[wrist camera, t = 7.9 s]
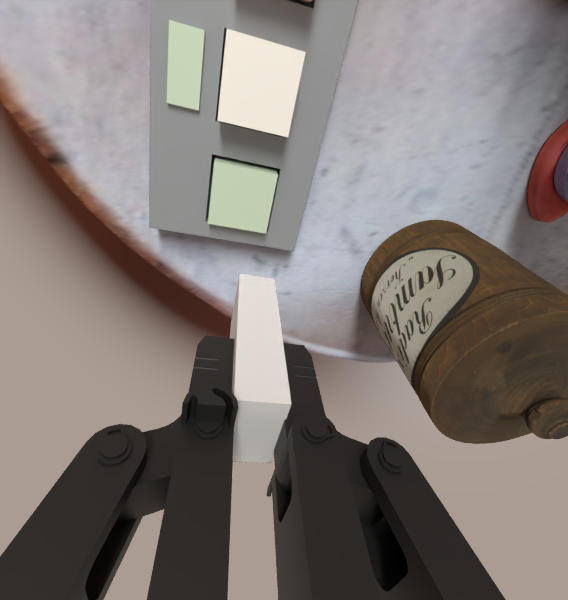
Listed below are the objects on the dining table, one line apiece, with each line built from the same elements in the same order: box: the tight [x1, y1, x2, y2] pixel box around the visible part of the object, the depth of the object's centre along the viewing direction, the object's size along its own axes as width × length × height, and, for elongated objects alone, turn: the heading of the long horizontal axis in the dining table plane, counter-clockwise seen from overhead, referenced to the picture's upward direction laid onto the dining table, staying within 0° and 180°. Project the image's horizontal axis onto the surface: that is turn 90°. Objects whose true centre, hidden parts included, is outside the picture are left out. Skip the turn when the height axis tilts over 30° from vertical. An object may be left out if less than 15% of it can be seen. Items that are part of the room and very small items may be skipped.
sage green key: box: [208, 155, 278, 234], centre depth 30 cm, size 5×5×3 cm
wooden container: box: [361, 220, 568, 444], centre depth 31 cm, size 15×15×22 cm
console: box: [149, 0, 358, 251], centre depth 26 cm, size 26×14×3 cm, turn 167°
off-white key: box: [217, 29, 306, 137], centre depth 24 cm, size 5×5×3 cm
